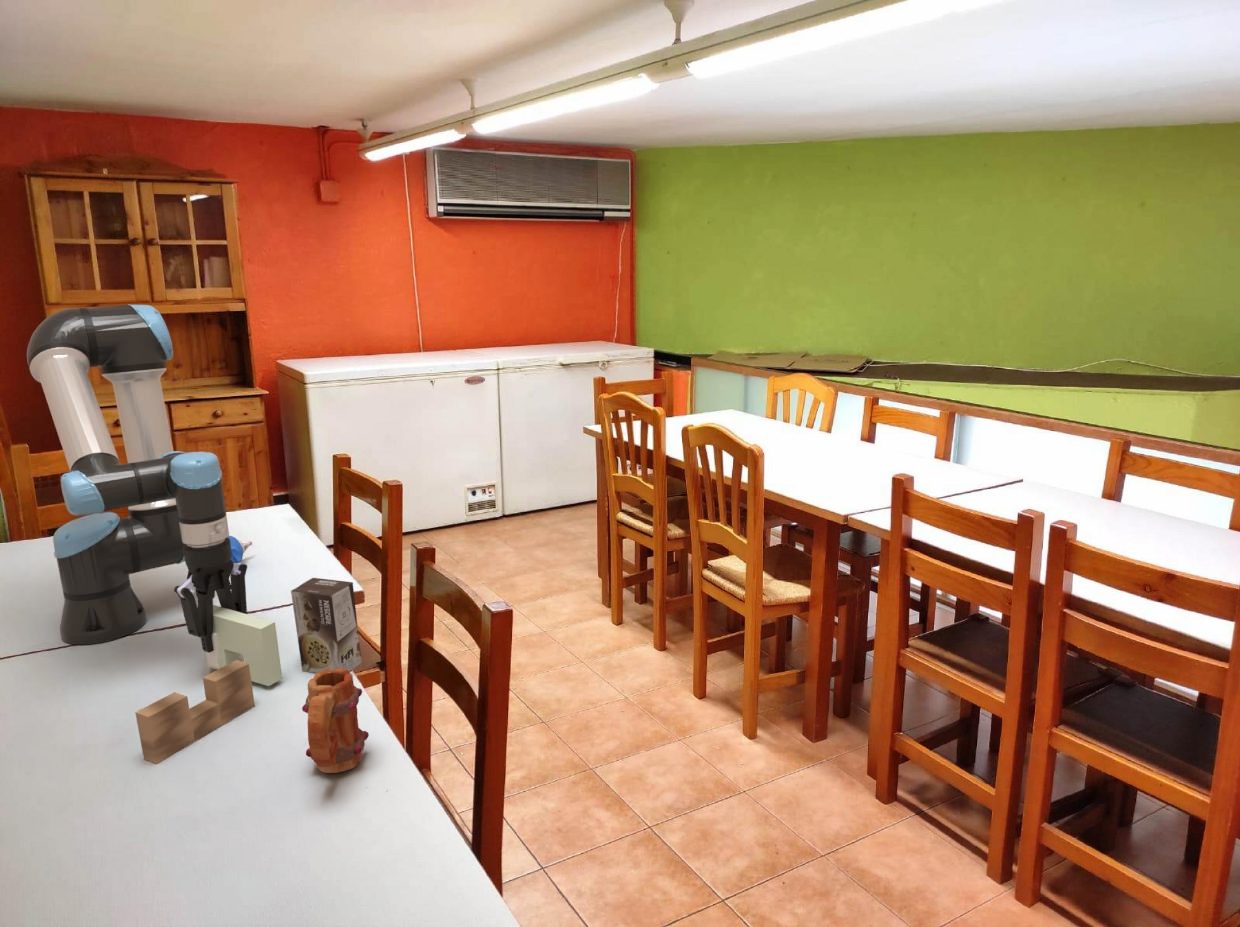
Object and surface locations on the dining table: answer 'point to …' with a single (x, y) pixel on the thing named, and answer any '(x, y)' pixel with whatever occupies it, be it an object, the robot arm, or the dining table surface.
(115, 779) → the dining table surface
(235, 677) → the walnut board
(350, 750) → the mug
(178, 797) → the dining table surface
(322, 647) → the coffee box
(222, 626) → the sage board
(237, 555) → the blue rubber bulb
